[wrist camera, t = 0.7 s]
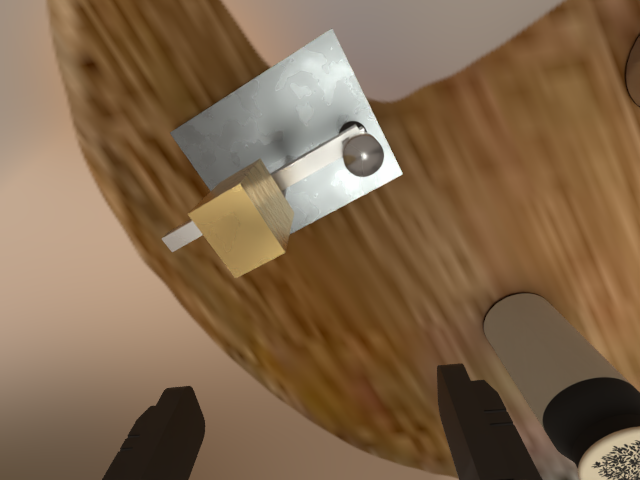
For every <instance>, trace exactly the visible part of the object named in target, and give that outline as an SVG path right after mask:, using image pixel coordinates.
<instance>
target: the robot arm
mask: <svg viewBox="0 0 640 480" xmlns="http://www.w3.org/2000/svg"><path fill="white" fill-rule="evenodd" d="M626 82H627V88H628V91H629V93H630V96H631V97H632V99H633V100H634V102H635V103H636V104H637V105H638V106H640V36H639V37H638V39H637V41H636V43H635V45H634V47H633V49H632V51H631V53H630V57H629V60H628V63H627V70H626ZM437 383H438V405H439V412H440V417H441V421H442V425H443V428H444V431H445V434H446V438H447V441H448V444H449V448H450V451H451V454H452V457H453V461H454V464H455V467H456V471H457V474H458V477H459V480H542V478H541V476H540V474H539V472H538V470H537V469H536V467H535V465H534V463H533V461H532V459H531V457H530V455H529V453H528V451H527V449H526V447H525V445H524V443H523V441H522V439H521V437H520V435H519V433H518V431H517V429H516V427H515V425H513V421H512V420H511V418H510V416H509V414H508V412H507V411H506V408H505V406H504V404H503V402H502V400H501V398H500V396H499V394H498V393H497V392H496V391H495V390H494V389H493V388H492V387H491V386H490V385H489V384H488V383H487V382H486V381H484V380H477V381H470V378H469V376H468V374H467V372H466V369H465V367H464V365H463V364H450V365H439V366H437ZM204 434H205V420H204V417H203V414H202V411H201V409H200V406H199V403H198V401H197V398H196V396H195V393H194V390H193V388H192V387H190V386H184V387H173V388H167V389H165V390H164V392H163V393H162V395H161V397H160V399H159V401H158V403H157V404H156V406H150V407H149V408H148V409H147V410H146V411H145V412H144V413H143V414H142V415H141V416H140V417H139V418H138V419H137V420H136V422H135V424H134V426H133V427H132V429H131V431H130V432H129V434H128V438H127V439H125V441H124V443H123V444H122V446H121V448H120V449H121V450H120V452H118V453H117V455H116V457H115V458H114V460H113V462H112V463H111V465H110V467H109V469H108V470H107V472H106V474H105V475H104V478H103V479H102V480H188V479H189V477H190V474H191V471H192V468H193V466H194V463H195V460H196V458H197V454H198V452H199V449H200V447H201V444H202V441H203V438H204Z"/></svg>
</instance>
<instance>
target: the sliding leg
mask: <svg viewBox="0 0 640 480" xmlns="http://www.w3.org/2000/svg"><path fill="white" fill-rule="evenodd" d="M288 188H289V187H287V188H286V189H284V190H282V191H280V189H279V187H278V186H277V184H276V183H275V181H274V179H273V178H272V176H271V175H270V173H269V171H268V170H267V168H266V167H265V165H264V163H263V162H262V160H261V159H259V160H257V161H255V162H253V163H252V164H250V165H248V166H247V167H245V168H243V169H242V170H240V171H238V172H237V173H235V174H233V175H231V176H230V177H228V178H226V179H225V180H223V181H221V182H220V183H219V184H218V185H217V186H216V187H215V188H214V189H213V190H212V191H211V192H210V193H209V194H208V195H207V196H206V197H205V198H204V199H203V200H202V201H200V202H199V203H198V204H197V205H196V206H195V207H194V208H193V209H192V210H191V211H190V212H189V213H188V215H189V217H190V218H191V219H192V221H193V222H194V223H195V225H196V226H197V227H198V229H199V230H200V231H201V233H202V234H203V235H204V237H205V238H206V239H207V241H208V242H209V243H210V245H211V246H212V247H213V249H214V250H215V251H216V253H217V254H218V255H219V257H220V258H221V260H222V261H223V262H224V264H225V265H226V266H227V268H228V269H229V270H230V272H231V273H232V274H233V276H234V277H235V278H237V277H239V276H241V275H243V274H245V273H247V272H249V271H251V270H253V269H255V268H257V267H259V266H261V265H262V264H264V263H266V262H268V261H270V260H272V259H274V258H276V257H278V256H280V255H282V254H284V253H285V252H286V248H287V243H288V239H289V234H290V230H291V226H292V221H293V217H294V211H293V210H292V208H291V207H290V205H289V203H288V202H287V200H286V199H285V197H286V194H287V191H288Z"/></svg>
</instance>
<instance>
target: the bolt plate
mask: <svg viewBox="0 0 640 480" xmlns="http://www.w3.org/2000/svg"><path fill="white" fill-rule="evenodd" d="M170 134H171V135H172V137H173V138H174V139H175V141H176V142H177V144H178V145H179V147H180V148H181V149H182V151H183V152H184V154H185V155H186V157H187V158H188V159H189V161H190V162H191V164H192V165H193V166H194V168H195V169H196V171H197V172H198V174H199V175H200V176H201V178H202V179H203V181H204V182H205V184H206V185H207V186H208V188H209V189H210V191H212V190H213V189H214V188H215V187H216V186H217V185H218V184H219V183H220V182H221V181H223V180H225V179H226V178H228V177H230V176H231V175H233V174H235V173H237V172H238V171H240V170H242V169H243V168H245V167H247V166H248V165H250V164H252V163H253V162H255V161H257V160H259V159H261V160H262V162H263V163H264V165H265V167H266V168H267V170H268V171H269V173H270V175H271V176H272V178H273V179H274V181H275V183H276V184H277V186H278V187H279V189H280V191H282V190H284V189H286V188H287V187H289V188H288V191H287V194H286V197H285V199H286V200H287V202H288V203H289V205H290V207H291V208H292V210H293V211H294V217H293V221H292V226H291V230H290V234H291V233H293V232H295V231H297V230H299V229H301V228H302V227H304V226H306V225H308V224H310V223H312V222H314V221H316V220H318V219H319V218H321V217H323V216H325V215H327V214H329V213H331V212H333V211H335V210H336V209H338V208H340V207H342V206H344V205H346V204H348V203H350V202H351V201H353V200H355V199H357V198H359V197H361V196H363V195H365V194H367V193H368V192H370V191H372V190H374V189H376V188H378V187H380V186H382V185H384V184H385V183H387V182H389V181H391V180H393V179H395V178H397V177H399V176H400V175H402V174H403V173H402V171H401V169H400V167H399V165H398V163H397V161H396V159H395V157H394V155H393V153H392V151H391V149H390V147H389V145H388V143H387V140H386V138H385V136H384V134H383V132H382V130H381V128H380V126H379V124H378V122H377V120H376V118H375V116H374V114H373V112H372V110H371V107H370V105H369V103H368V101H367V99H366V97H365V95H364V93H363V91H362V89H361V87H360V85H359V83H358V81H357V79H356V77H355V74H354V72H353V70H352V68H351V66H350V64H349V62H348V60H347V58H346V56H345V54H344V52H343V50H342V48H341V46H340V44H339V41H338V40H337V38H336V35H335V33H334V32H333V29H330V30H329V31H327V32H325V33H324V34H322V35H321V36H319V37H318V38H316V39H315V40H313V41H311V42H310V43H308V44H307V45H305V46H304V47H302V48H301V49H299V50H298V51H296V52H295V53H293V54H291V55H290V56H288V57H287V58H285V59H284V60H282V61H281V62H279V63H277V64H276V65H274V66H273V67H271V68H270V69H268V70H267V71H265V72H263V73H262V74H260V75H259V76H257V77H256V78H254V79H253V80H251V81H250V82H248V83H246V84H245V85H243V86H242V87H240V88H239V89H237V90H236V91H234V92H233V93H231V94H229V95H228V96H226V97H225V98H223V99H222V100H220V101H219V102H217V103H215V104H214V105H212V106H211V107H209V108H208V109H206V110H205V111H203V112H202V113H200V114H198V115H197V116H195V117H194V118H192V119H191V120H189V121H188V122H186V123H185V124H183V125H181V126H180V127H178V128H177V129H175V130H174V131H172V132H171V133H170ZM202 235H203V234H202V233H201V231H200V230H199V229H198V227H197V226H196V225H195V223H194V222H193V221H192V219H190V220H189V221H187V222H185V223H183V224H182V225H180V226H178V227H176V228H175V229H173V230H171V231H170V232H168V233H167V234H166V235H165V236H164V237H163V238H162V240H163V241H164V243H165V244H166V245H167V246H168V248H169V249H170V250H171V251H172V252H173V251H175V250H177V249H179V248H181V247H182V246H184V245H186V244H188V243H189V242H191V241H193V240H195V239H197V238H198V237H200V236H202Z"/></svg>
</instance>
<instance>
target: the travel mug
mask: <svg viewBox="0 0 640 480" xmlns="http://www.w3.org/2000/svg"><path fill="white" fill-rule="evenodd" d="M484 333H485V336H486V338H487V339H488V341H489V342H490V344H491V346H492V347H493V349H494V350H495V352H496V354H497V355H498V357H499V358H500V360H501V362H502V363H503V365H504V366H505V368H506V370H507V371H508V373H509V374H510V376H511V377H512V379H513V381H514V382H515V384H516V385H517V387H518V389H519V390H520V392H521V393H522V395H523V397H524V398H525V400H526V401H527V403H528V405H529V406H530V408H531V409H532V411H533V412H534V414H535V416H536V417H537V419H538V420H539V422H540V424H541V425H542V427H543V428H544V430H545V432H546V433H547V435H548V436H549V438H550V440H551V441H552V443H553V444H554V446H555V447H556V449H557V450H558V451H559V452H560V453H561V454H562V455H564V456H565V457H567V458H569V459H570V460H572V461H573V462H575V464H576V466H577V468H578V476H579V479H580V480H640V393H639V392H638V391H637V390H636V389H635V388H634V387H633V386H632V385H631V384H630V383H629V382H628V381H627V380H626V379H625V378H624V377H623V376H622V375H621V374H620V373H619V372H618V371H617V370H616V369H615V368H614V367H613V366H612V365H611V364H610V363H609V362H608V361H607V360H606V359H605V358H604V357H603V356H602V355H601V354H600V353H599V352H598V351H597V350H596V349H595V348H594V347H593V346H592V345H591V344H590V343H589V342H588V341H587V340H586V339H585V338H584V337H583V336H582V335H581V334H580V333H579V332H578V331H577V330H576V329H575V328H574V327H573V326H572V325H571V324H570V323H569V322H568V321H567V320H566V319H565V318H564V317H563V316H562V315H561V314H560V313H559V312H558V311H557V310H556V309H555V308H554V307H553V306H552V305H551V304H550V303H549V302H548V301H547V300H545V299H544V298H543V297H541V296H538V295H535V294H529V293H522V294H516V295H512V296H509V297H507V298H505V299H503V300H501V301H500V302H498V303H497V304H496V305H494V306H493V307H492V309H491V310H490V311H489V312H488V314H487V316H486V318H485V321H484Z"/></svg>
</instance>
